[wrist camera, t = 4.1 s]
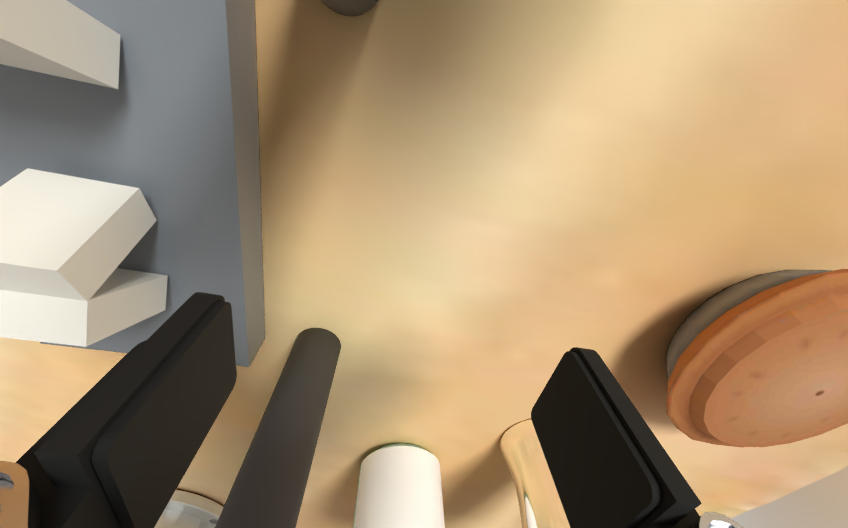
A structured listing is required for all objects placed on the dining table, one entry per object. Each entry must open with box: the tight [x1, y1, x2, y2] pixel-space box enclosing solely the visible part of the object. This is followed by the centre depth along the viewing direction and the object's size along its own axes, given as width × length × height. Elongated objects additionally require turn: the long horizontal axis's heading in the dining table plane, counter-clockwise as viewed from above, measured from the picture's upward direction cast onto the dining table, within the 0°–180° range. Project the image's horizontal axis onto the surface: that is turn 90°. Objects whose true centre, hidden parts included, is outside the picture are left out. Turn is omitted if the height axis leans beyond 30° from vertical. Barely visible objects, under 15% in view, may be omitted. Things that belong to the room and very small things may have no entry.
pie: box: [667, 269, 848, 447], centre depth 22 cm, size 16×16×5 cm
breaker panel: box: [0, 0, 265, 367], centre depth 15 cm, size 20×11×2 cm, turn 168°
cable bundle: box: [215, 328, 341, 528], centre depth 14 cm, size 3×3×20 cm
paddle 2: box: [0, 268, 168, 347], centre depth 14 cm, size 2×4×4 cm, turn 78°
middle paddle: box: [0, 168, 157, 301], centre depth 12 cm, size 2×4×4 cm, turn 78°
